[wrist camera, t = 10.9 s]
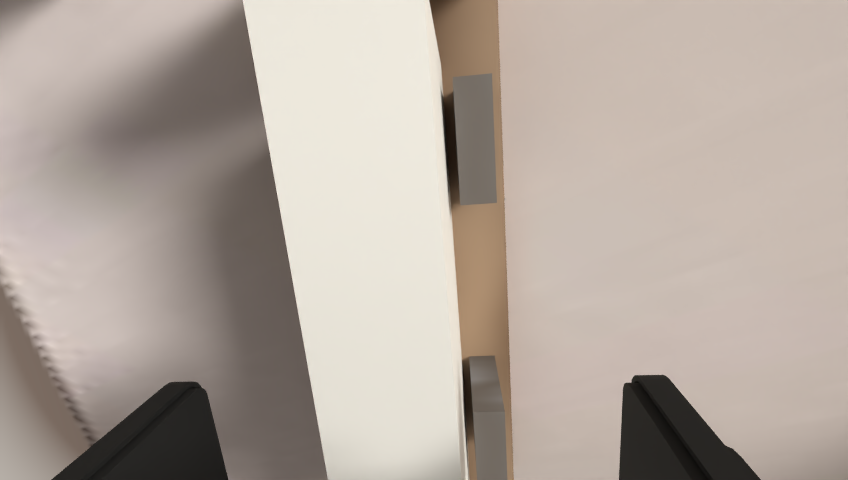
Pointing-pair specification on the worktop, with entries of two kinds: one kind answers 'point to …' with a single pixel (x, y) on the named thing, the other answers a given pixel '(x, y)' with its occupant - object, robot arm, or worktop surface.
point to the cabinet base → (478, 224)
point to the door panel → (367, 228)
